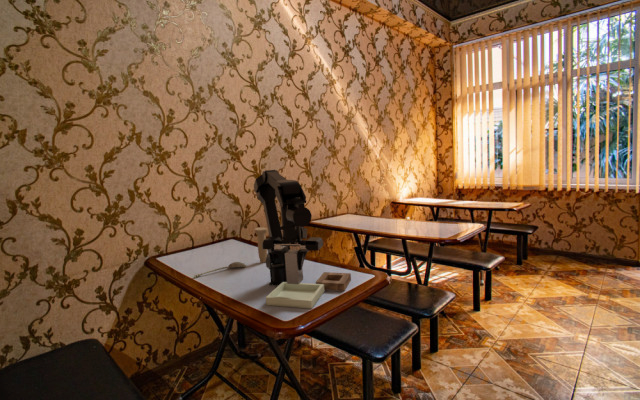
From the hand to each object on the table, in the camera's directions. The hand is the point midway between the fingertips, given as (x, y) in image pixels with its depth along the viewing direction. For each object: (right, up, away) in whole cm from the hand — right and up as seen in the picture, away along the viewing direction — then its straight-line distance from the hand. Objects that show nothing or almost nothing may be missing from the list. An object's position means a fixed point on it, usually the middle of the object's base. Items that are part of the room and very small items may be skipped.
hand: (294, 269), depth 108 cm
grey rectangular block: (0, -4, 0) cm, 4 cm away
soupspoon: (-33, -8, +33) cm, 47 cm away
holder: (+13, -7, +11) cm, 18 cm away
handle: (-17, -5, +42) cm, 46 cm away
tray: (+1, -9, +1) cm, 10 cm away
